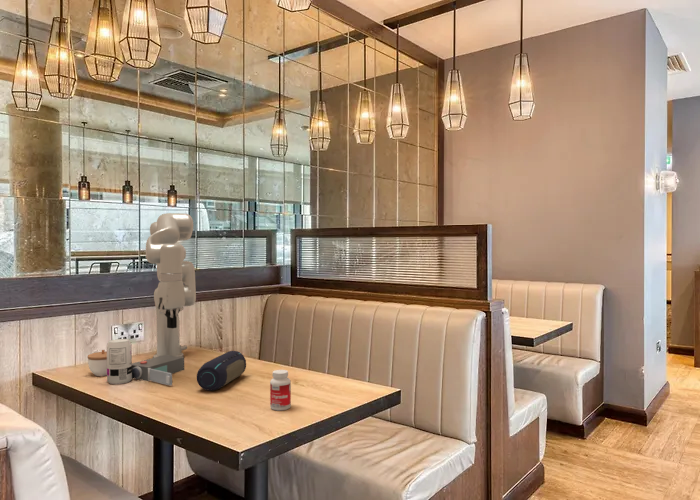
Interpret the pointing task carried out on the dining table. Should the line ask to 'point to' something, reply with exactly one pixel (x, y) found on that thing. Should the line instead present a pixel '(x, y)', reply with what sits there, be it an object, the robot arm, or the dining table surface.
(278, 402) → the pill bottle
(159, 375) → the thin grey plank
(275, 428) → the dining table surface
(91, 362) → the lidded jar
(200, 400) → the dining table surface
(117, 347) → the supplement can
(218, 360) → the portable speaker
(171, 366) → the camera body
